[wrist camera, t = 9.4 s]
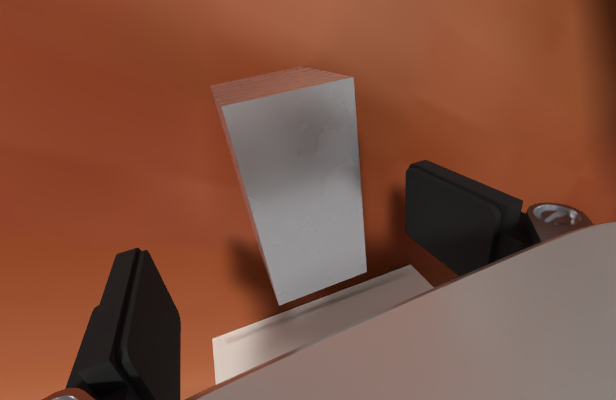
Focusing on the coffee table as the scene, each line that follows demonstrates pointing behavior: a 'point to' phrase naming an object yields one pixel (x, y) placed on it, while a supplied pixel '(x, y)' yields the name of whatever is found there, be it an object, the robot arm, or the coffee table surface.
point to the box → (312, 321)
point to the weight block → (298, 174)
